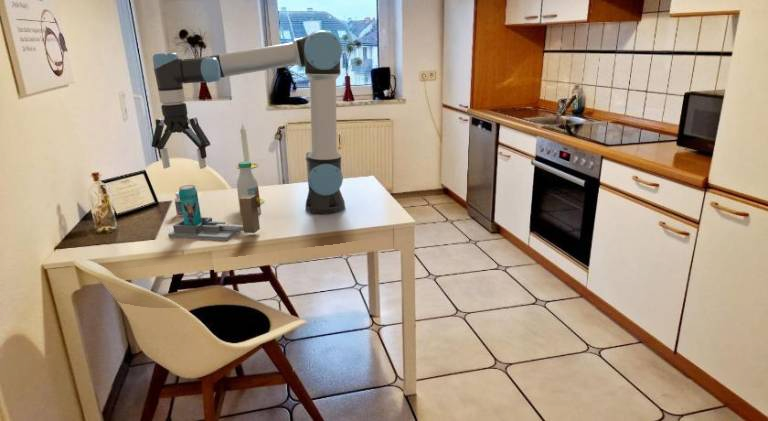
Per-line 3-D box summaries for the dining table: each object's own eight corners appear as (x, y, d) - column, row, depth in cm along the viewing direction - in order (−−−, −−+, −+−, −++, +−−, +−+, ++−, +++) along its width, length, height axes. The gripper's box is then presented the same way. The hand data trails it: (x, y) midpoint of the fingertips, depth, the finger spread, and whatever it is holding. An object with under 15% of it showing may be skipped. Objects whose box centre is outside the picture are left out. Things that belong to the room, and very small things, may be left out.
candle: (268, 203, 204) (259, 123, 194) (244, 208, 199) (233, 126, 188) (259, 197, 212) (250, 120, 202) (236, 202, 207) (225, 123, 196)
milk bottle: (243, 218, 187) (236, 166, 181) (238, 212, 194) (231, 161, 187) (263, 214, 191) (257, 163, 184) (258, 209, 197) (252, 159, 191)
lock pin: (259, 228, 171) (255, 195, 168) (254, 233, 168) (250, 198, 164) (220, 226, 175) (215, 193, 171) (214, 231, 171) (208, 197, 167)
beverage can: (185, 232, 171) (178, 190, 166) (184, 227, 176) (177, 186, 171) (203, 229, 173) (196, 187, 168) (202, 224, 178) (195, 183, 173)
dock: (244, 227, 177) (243, 217, 176) (227, 240, 166) (226, 229, 165) (188, 225, 182) (187, 215, 181) (168, 237, 171) (166, 226, 170)
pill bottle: (186, 216, 191) (182, 194, 188) (174, 216, 192) (170, 194, 189) (194, 212, 196) (190, 190, 193) (182, 211, 197) (178, 190, 194)
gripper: (214, 101, 162) (224, 165, 169) (146, 102, 167) (159, 164, 174) (201, 104, 155) (212, 170, 162) (131, 105, 160) (145, 170, 167)
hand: (184, 167), depth 168 cm, fingers open, 13 cm apart
